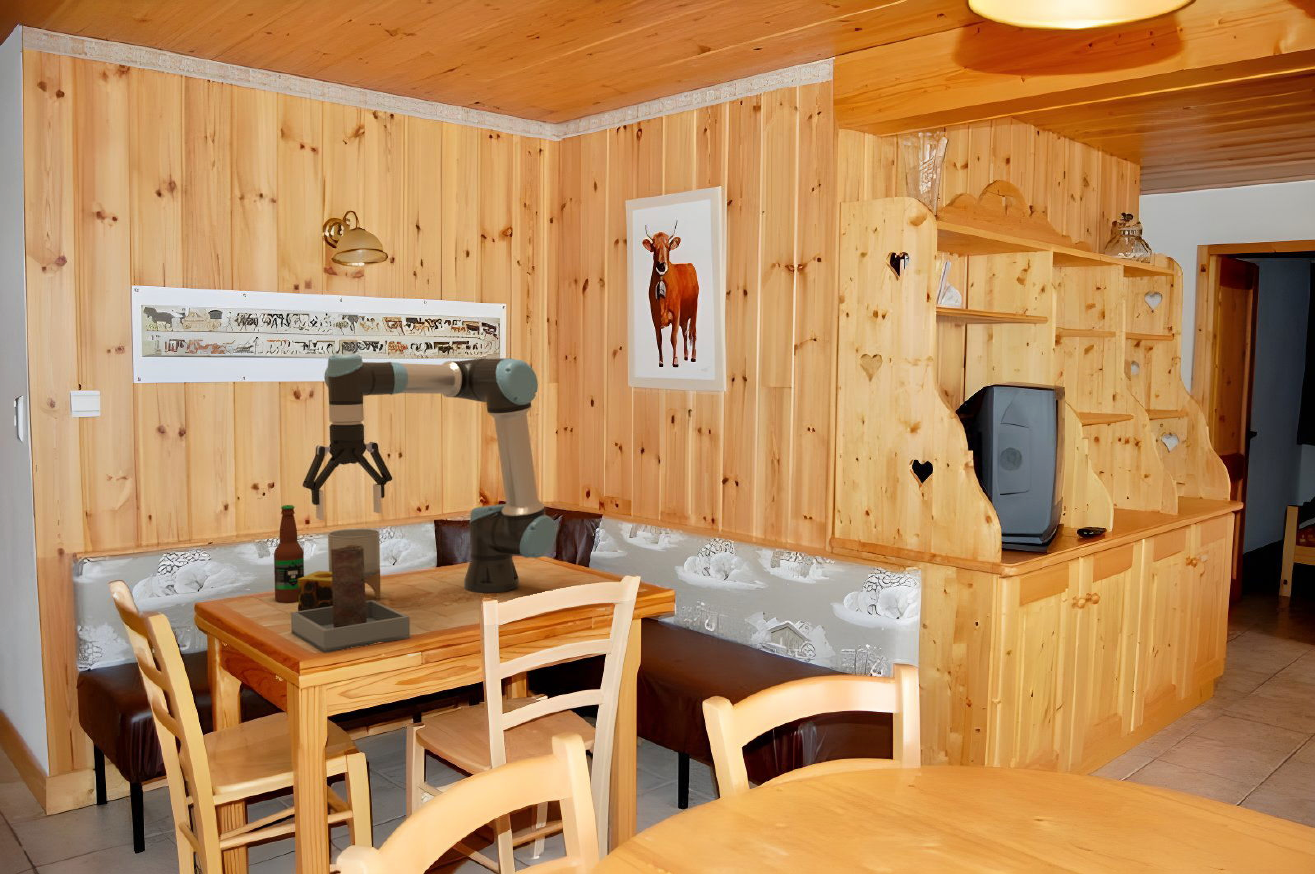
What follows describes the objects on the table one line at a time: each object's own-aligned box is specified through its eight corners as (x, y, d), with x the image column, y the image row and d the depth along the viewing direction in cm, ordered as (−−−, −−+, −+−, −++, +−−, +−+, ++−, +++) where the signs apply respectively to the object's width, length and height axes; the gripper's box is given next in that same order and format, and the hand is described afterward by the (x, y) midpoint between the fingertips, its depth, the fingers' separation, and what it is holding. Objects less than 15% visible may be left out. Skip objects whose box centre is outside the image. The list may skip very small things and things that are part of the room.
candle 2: (335, 637, 236) (334, 549, 235) (329, 629, 243) (328, 544, 241) (370, 633, 240) (368, 547, 238) (363, 625, 246) (361, 541, 245)
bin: (373, 620, 255) (373, 599, 255) (409, 638, 240) (409, 616, 239) (291, 633, 243) (290, 612, 242) (324, 653, 227) (323, 630, 227)
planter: (328, 595, 280) (327, 529, 279) (379, 592, 284) (377, 527, 283) (329, 606, 268) (328, 538, 267) (381, 603, 272) (380, 535, 271)
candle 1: (334, 621, 254) (334, 580, 253) (296, 618, 256) (296, 578, 255) (355, 611, 264) (354, 572, 263) (318, 608, 266) (317, 570, 265)
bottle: (276, 604, 270) (273, 508, 268) (274, 598, 276) (271, 504, 274) (306, 602, 273) (303, 506, 271) (303, 595, 279) (301, 503, 277)
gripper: (391, 419, 248) (393, 507, 250) (285, 424, 232) (289, 519, 234) (405, 421, 242) (407, 511, 244) (297, 427, 227) (301, 524, 229)
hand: (349, 515), depth 239 cm, fingers open, 13 cm apart
